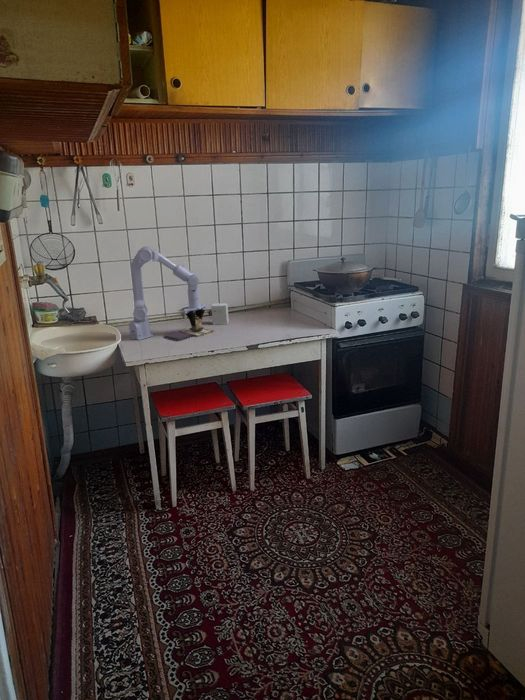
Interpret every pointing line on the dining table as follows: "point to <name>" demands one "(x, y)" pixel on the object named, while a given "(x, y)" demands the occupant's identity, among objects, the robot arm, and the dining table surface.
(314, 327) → the dining table surface
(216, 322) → the small box
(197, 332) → the board
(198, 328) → the stamp
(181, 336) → the ink pad
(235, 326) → the dining table surface
